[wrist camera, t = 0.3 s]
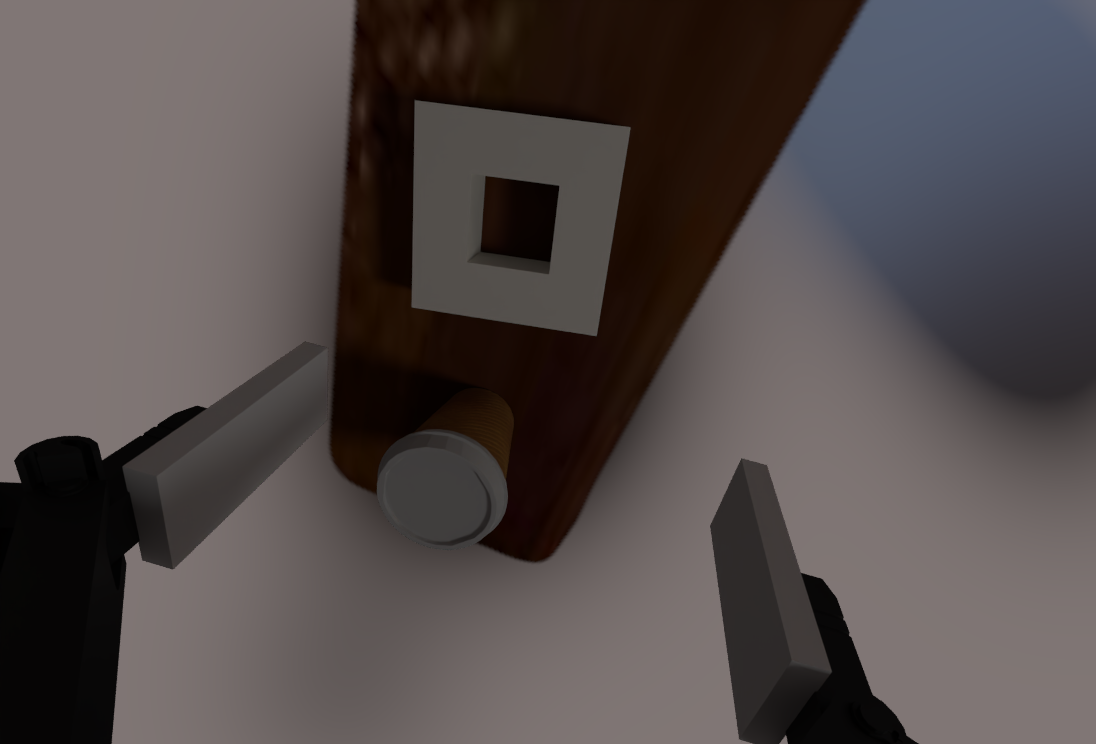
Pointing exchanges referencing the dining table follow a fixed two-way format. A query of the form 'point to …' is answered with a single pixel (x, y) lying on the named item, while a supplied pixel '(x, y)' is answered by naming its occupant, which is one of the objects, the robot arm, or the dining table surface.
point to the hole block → (457, 211)
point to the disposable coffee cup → (450, 473)
